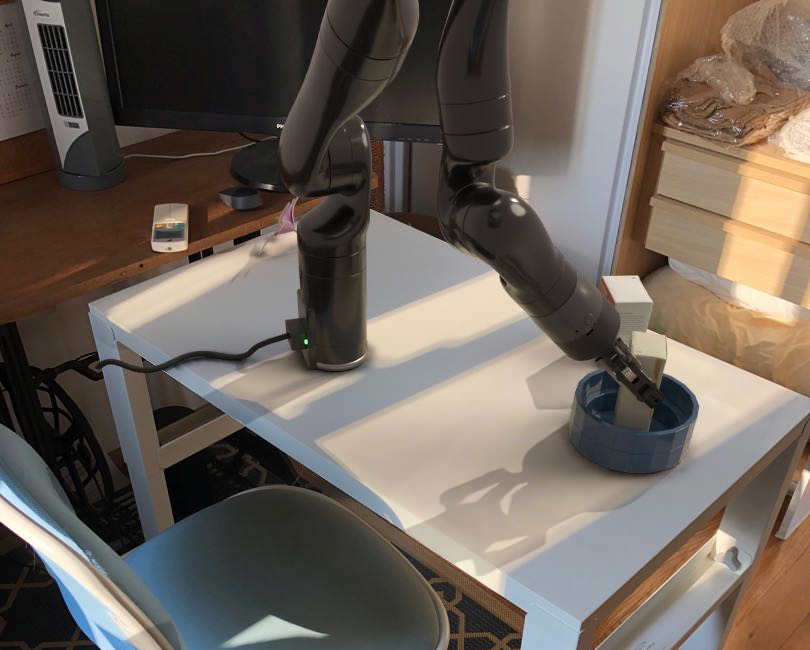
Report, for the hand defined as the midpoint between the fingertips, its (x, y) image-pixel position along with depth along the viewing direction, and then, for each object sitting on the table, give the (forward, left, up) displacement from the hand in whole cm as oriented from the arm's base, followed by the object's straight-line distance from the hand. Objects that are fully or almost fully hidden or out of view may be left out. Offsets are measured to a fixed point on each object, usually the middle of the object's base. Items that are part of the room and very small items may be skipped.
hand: (642, 385), depth 114 cm
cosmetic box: (0, 0, -7) cm, 7 cm away
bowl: (0, 0, -8) cm, 9 cm away
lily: (-32, +66, -9) cm, 74 cm away
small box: (+8, +20, -9) cm, 23 cm away
